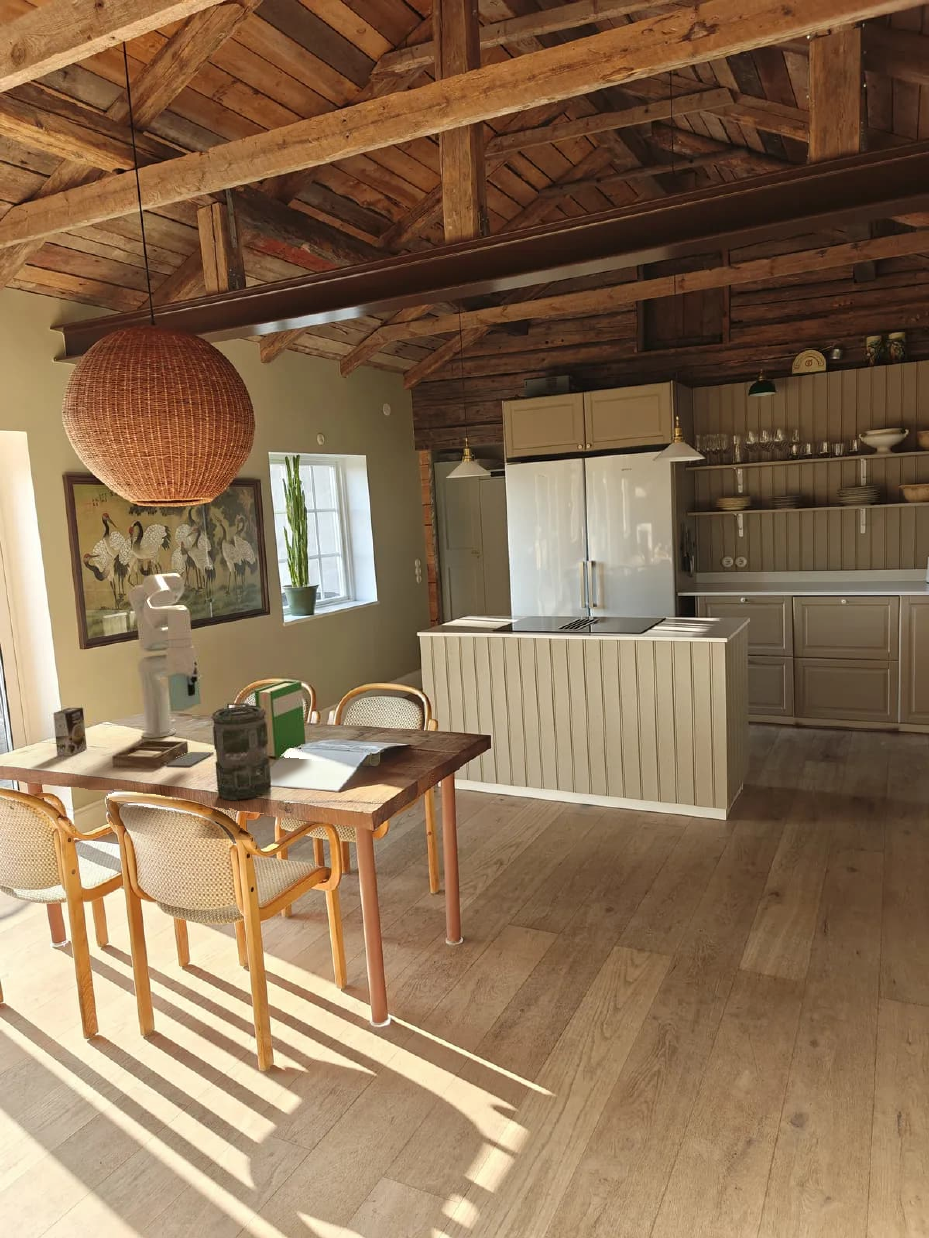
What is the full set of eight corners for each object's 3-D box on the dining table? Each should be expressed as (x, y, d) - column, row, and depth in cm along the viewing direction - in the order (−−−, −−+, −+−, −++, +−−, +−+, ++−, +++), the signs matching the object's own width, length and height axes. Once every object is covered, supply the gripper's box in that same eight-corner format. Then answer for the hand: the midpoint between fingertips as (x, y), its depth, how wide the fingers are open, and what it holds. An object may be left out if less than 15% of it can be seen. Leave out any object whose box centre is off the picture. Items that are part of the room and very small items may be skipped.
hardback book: (277, 759, 300) (272, 691, 297) (259, 757, 303) (254, 690, 300) (305, 745, 316) (301, 681, 313) (288, 744, 319) (284, 680, 316)
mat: (191, 753, 312) (190, 751, 312) (213, 753, 310) (213, 752, 310) (166, 766, 297) (166, 764, 297) (190, 767, 295) (190, 765, 295)
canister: (279, 785, 270) (273, 697, 267) (257, 802, 255) (250, 709, 252) (233, 784, 274) (226, 697, 270) (208, 800, 258) (201, 708, 255)
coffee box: (72, 756, 316) (67, 712, 314) (56, 755, 317) (52, 712, 315) (87, 749, 325) (83, 707, 323) (72, 748, 326) (68, 706, 324)
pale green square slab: (170, 711, 296) (167, 676, 295) (189, 703, 308) (186, 670, 306) (182, 711, 295) (179, 676, 294) (200, 703, 307) (198, 670, 305)
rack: (146, 751, 318) (145, 740, 318) (188, 752, 314) (187, 741, 314) (113, 767, 299) (111, 756, 298) (157, 768, 295) (156, 757, 294)
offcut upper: (140, 755, 307) (139, 750, 307) (162, 757, 304) (161, 751, 303) (127, 760, 302) (127, 754, 302) (150, 762, 298) (149, 756, 298)
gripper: (152, 645, 297) (157, 697, 299) (197, 644, 293) (201, 697, 295) (164, 641, 304) (169, 692, 306) (208, 641, 300) (212, 693, 303)
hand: (184, 694), depth 301 cm, fingers closed on pale green square slab, 4 cm apart
